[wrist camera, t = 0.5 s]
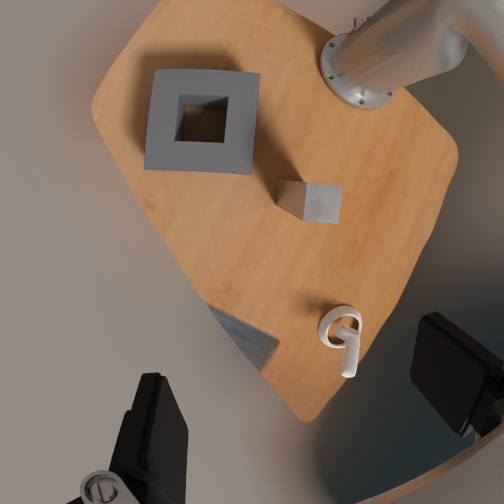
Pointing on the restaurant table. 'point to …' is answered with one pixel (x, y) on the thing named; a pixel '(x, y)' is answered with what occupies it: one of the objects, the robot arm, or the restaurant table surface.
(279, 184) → the steel post
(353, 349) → the hook
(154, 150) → the well block
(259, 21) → the restaurant table surface
